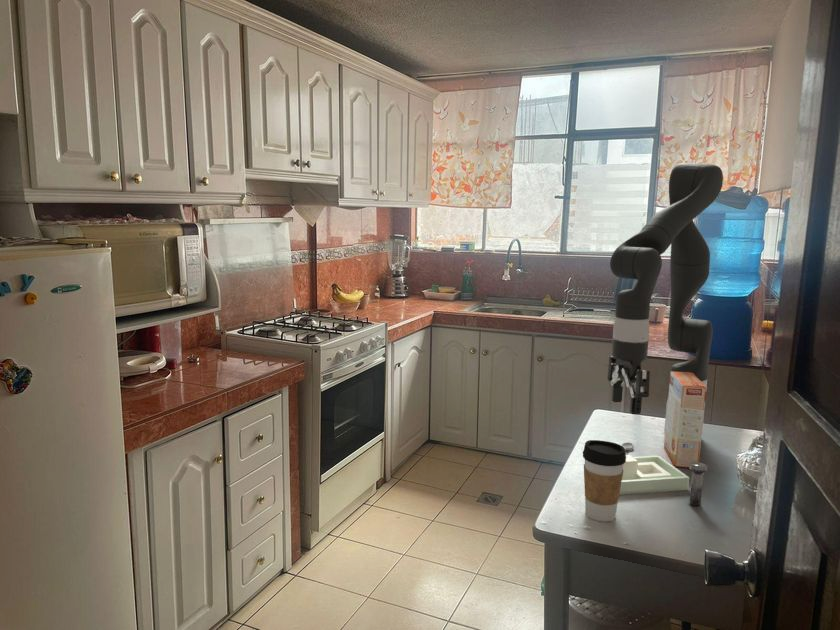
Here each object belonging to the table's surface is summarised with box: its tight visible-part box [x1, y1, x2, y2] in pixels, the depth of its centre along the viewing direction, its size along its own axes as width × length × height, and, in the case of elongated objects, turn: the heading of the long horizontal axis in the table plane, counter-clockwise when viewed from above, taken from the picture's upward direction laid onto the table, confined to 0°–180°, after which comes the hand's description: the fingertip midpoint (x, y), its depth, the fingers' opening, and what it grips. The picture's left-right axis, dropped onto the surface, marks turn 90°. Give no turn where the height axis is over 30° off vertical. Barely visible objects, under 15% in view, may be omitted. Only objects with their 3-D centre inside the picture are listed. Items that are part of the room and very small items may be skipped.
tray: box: [619, 455, 690, 496], centre depth 142 cm, size 13×18×3 cm
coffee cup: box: [582, 439, 627, 523], centre depth 124 cm, size 8×8×15 cm
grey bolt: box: [688, 461, 708, 508], centre depth 130 cm, size 3×3×9 cm
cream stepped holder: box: [622, 454, 672, 480], centre depth 141 cm, size 12×8×5 cm, turn 100°
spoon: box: [621, 442, 635, 452], centre depth 158 cm, size 3×12×2 cm, turn 146°
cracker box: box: [663, 371, 708, 469], centre depth 154 cm, size 14×6×21 cm, turn 168°
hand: (625, 407), depth 138 cm, fingers open, 8 cm apart
